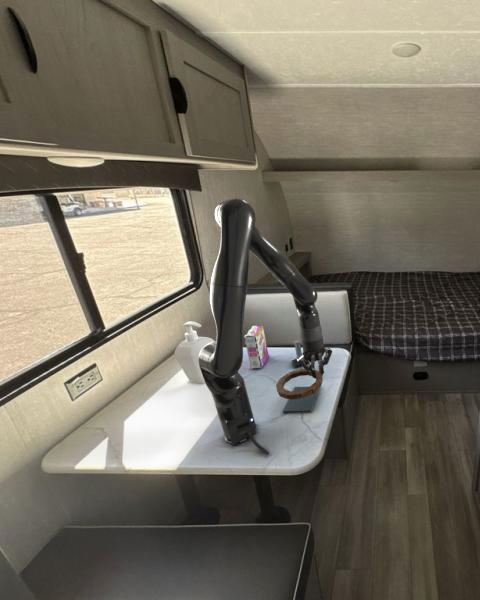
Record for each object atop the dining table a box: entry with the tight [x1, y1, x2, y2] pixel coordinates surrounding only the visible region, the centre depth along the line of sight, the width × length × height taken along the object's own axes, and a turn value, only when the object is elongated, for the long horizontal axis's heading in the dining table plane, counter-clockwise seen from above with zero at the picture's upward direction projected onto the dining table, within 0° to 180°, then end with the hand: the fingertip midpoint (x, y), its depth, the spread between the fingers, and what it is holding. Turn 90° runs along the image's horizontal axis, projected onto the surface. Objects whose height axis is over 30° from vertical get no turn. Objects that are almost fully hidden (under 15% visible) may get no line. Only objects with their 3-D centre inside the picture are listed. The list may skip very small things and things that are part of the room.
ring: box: [275, 368, 324, 400], centre depth 115 cm, size 16×16×2 cm
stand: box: [291, 339, 309, 369], centre depth 139 cm, size 6×6×11 cm
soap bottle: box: [173, 320, 216, 384], centre depth 129 cm, size 12×10×26 cm
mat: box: [282, 385, 321, 414], centre depth 117 cm, size 14×10×1 cm
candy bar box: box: [243, 324, 269, 370], centre depth 140 cm, size 11×5×16 cm, turn 6°
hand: (318, 376), depth 118 cm, fingers closed on ring, 2 cm apart
